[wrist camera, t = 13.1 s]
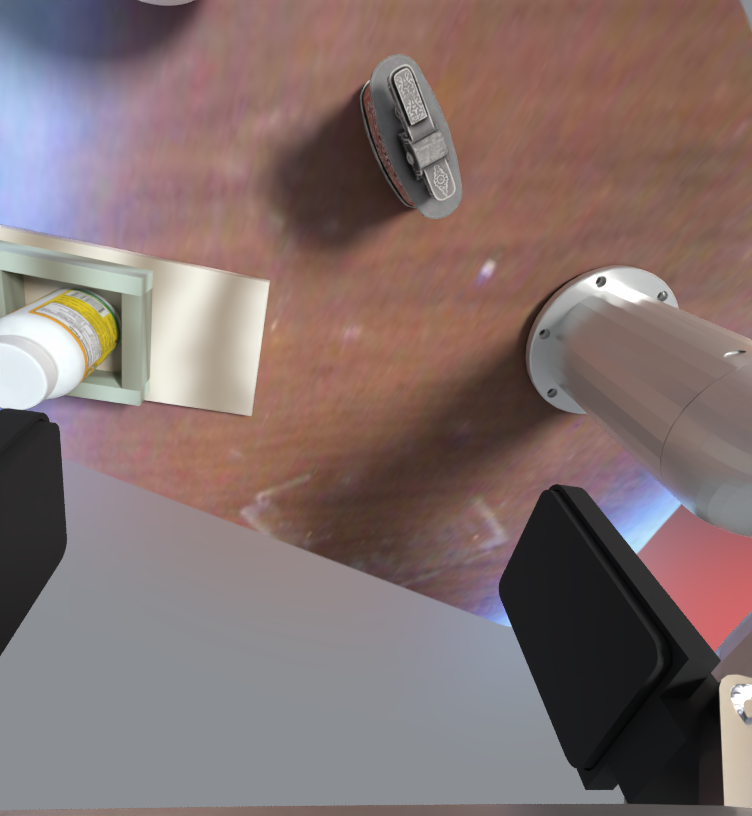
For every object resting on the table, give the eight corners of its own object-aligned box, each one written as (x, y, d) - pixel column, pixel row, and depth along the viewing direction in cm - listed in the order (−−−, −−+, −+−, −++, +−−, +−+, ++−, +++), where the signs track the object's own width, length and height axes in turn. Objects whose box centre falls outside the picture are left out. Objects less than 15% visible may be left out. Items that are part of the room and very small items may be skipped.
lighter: (443, 192, 33) (488, 205, 25) (400, 216, 34) (429, 236, 25) (395, 65, 30) (428, 26, 21) (347, 93, 30) (358, 67, 21)
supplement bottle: (112, 282, 33) (41, 326, 25) (133, 355, 36) (75, 417, 27) (30, 287, 33) (-71, 333, 24) (57, 360, 35) (-26, 425, 27)
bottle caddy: (270, 280, 35) (265, 290, 32) (252, 411, 40) (247, 430, 37) (-9, 222, 31) (-41, 229, 28) (8, 374, 36) (-18, 393, 33)
